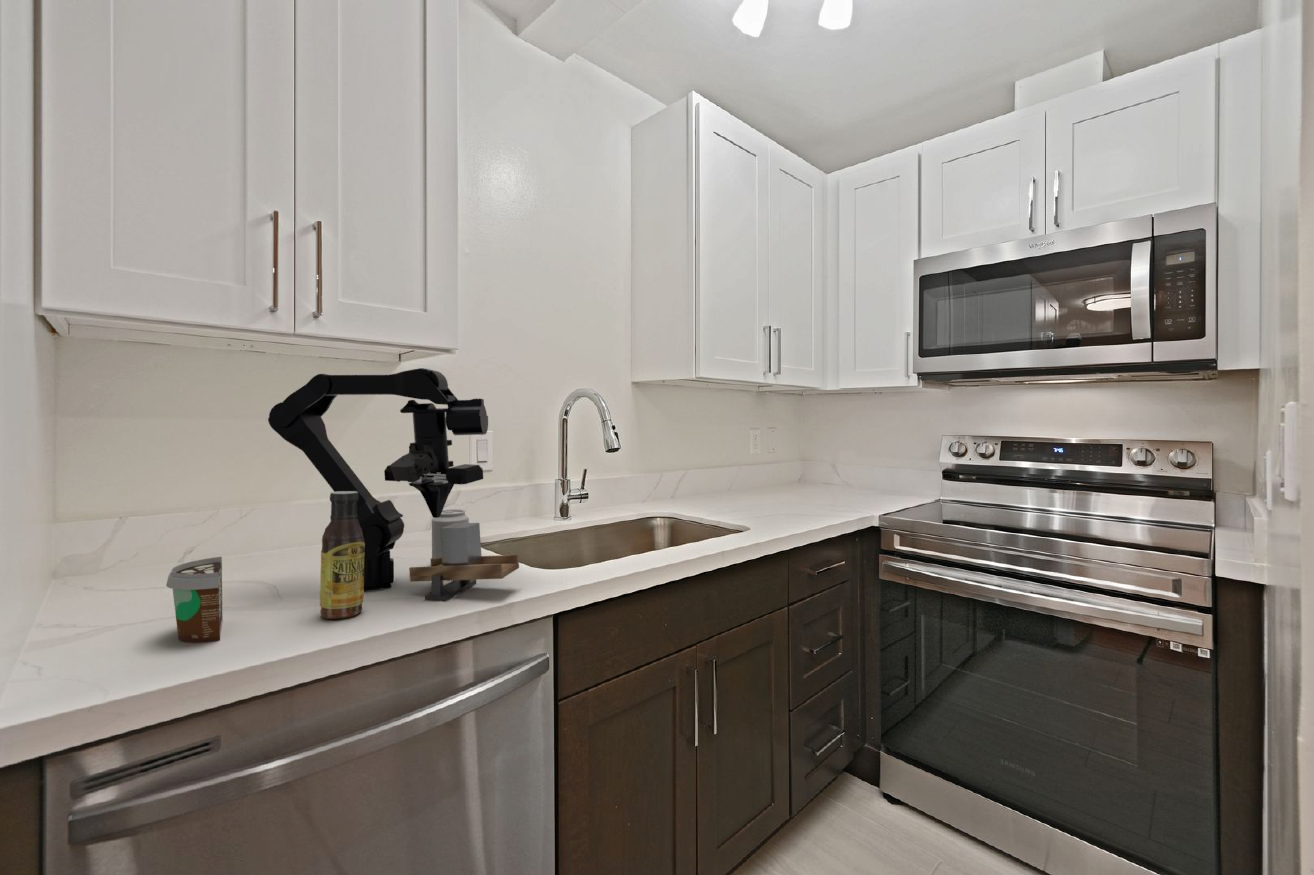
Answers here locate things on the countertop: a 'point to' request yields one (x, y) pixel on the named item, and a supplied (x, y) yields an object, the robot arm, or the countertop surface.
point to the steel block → (461, 544)
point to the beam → (467, 569)
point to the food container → (198, 599)
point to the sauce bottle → (342, 559)
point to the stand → (447, 588)
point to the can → (445, 520)
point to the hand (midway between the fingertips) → (436, 517)
